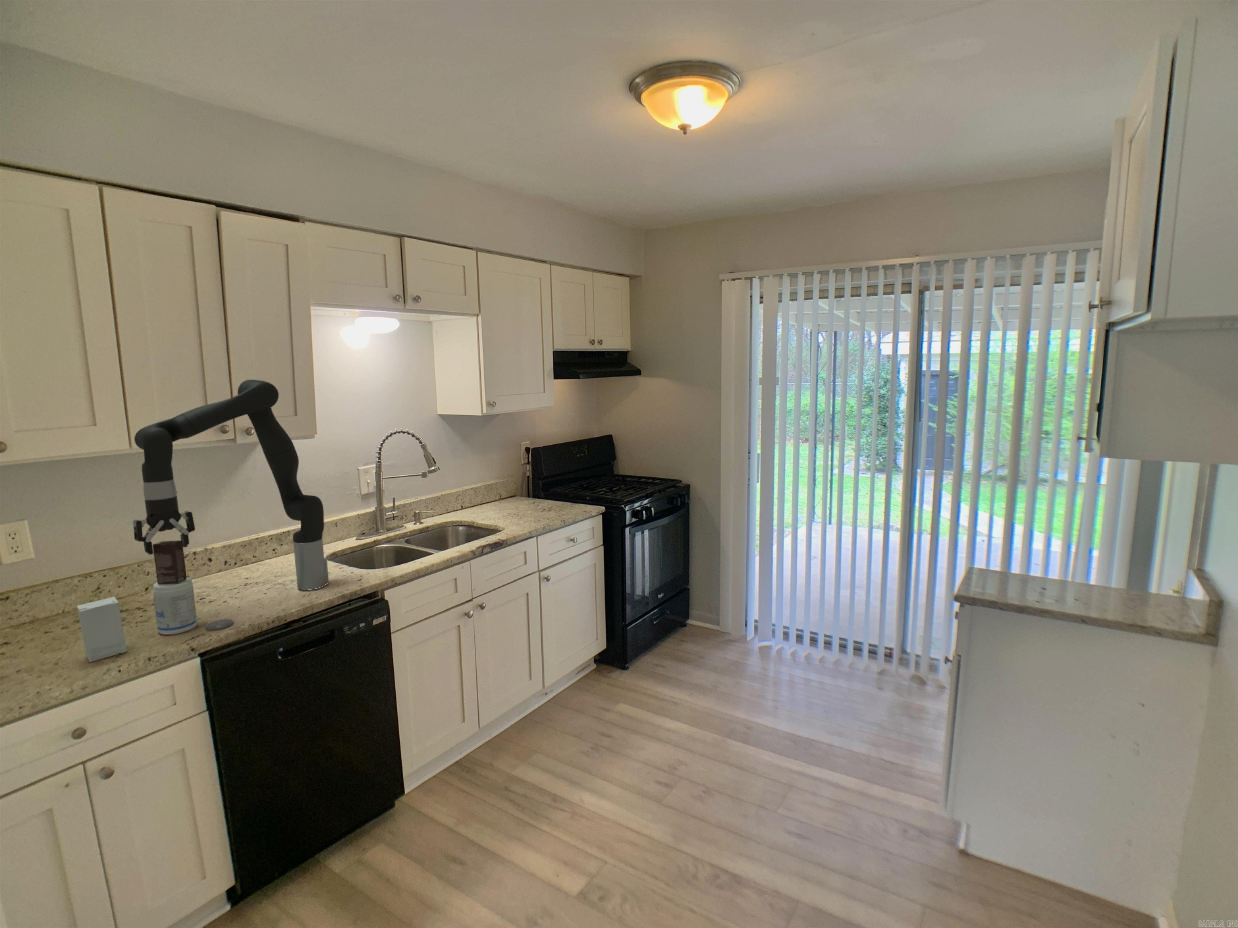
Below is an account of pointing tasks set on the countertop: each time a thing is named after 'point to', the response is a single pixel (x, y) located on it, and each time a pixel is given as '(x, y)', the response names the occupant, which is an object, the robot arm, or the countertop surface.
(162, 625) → the supplement tub
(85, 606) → the skincare box
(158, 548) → the box
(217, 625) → the slate coaster
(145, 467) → the robot arm
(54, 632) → the countertop surface
